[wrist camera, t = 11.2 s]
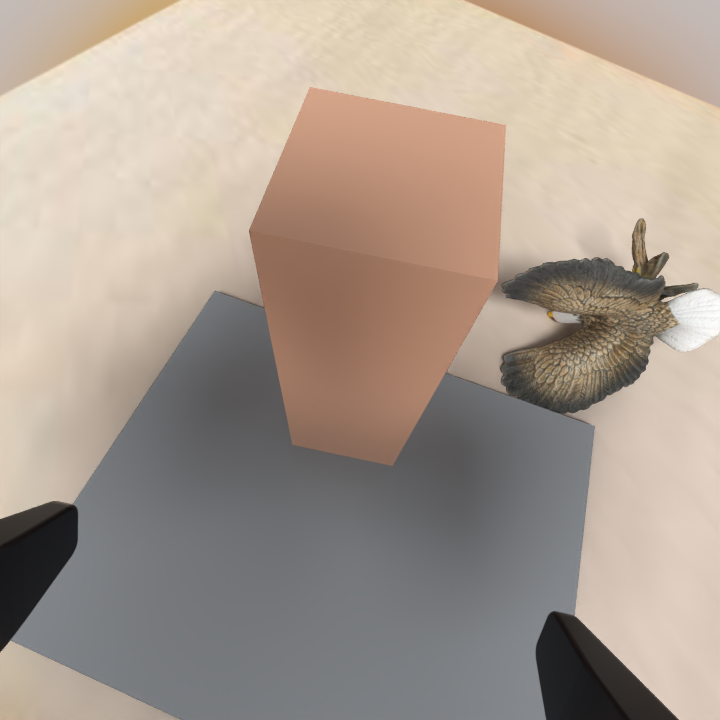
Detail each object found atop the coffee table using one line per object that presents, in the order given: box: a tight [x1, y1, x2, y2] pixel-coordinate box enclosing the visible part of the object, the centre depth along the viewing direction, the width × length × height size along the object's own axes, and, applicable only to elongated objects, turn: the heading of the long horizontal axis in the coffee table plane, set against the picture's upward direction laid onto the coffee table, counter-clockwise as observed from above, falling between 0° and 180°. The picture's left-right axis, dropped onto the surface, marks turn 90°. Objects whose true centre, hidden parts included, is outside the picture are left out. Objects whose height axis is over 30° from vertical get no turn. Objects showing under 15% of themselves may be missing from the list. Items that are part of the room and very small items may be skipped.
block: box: [249, 87, 506, 466], centre depth 15 cm, size 4×4×13 cm
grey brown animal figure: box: [501, 219, 720, 414], centre depth 21 cm, size 8×7×9 cm
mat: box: [11, 291, 595, 720], centre depth 18 cm, size 16×20×1 cm
